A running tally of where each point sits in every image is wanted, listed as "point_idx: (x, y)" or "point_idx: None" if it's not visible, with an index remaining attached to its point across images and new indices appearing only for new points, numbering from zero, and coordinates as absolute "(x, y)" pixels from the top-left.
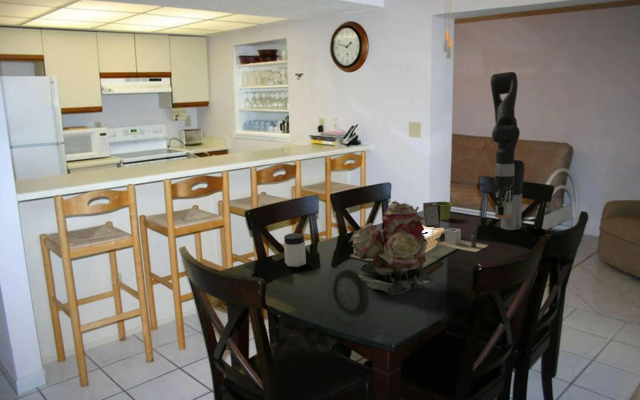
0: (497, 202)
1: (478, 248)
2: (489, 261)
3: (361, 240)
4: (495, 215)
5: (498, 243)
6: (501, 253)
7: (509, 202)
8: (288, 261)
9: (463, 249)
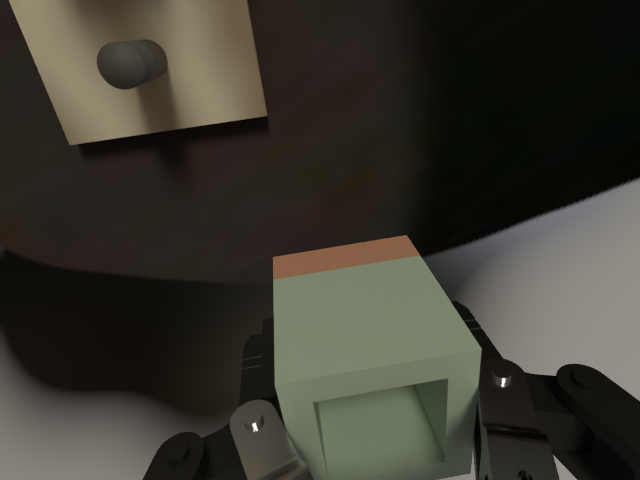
0: (241, 457)
1: (147, 111)
2: (66, 261)
3: None
4: (274, 269)
5: (391, 101)
6: (231, 226)
7: (448, 459)
8: None
9: (31, 41)
